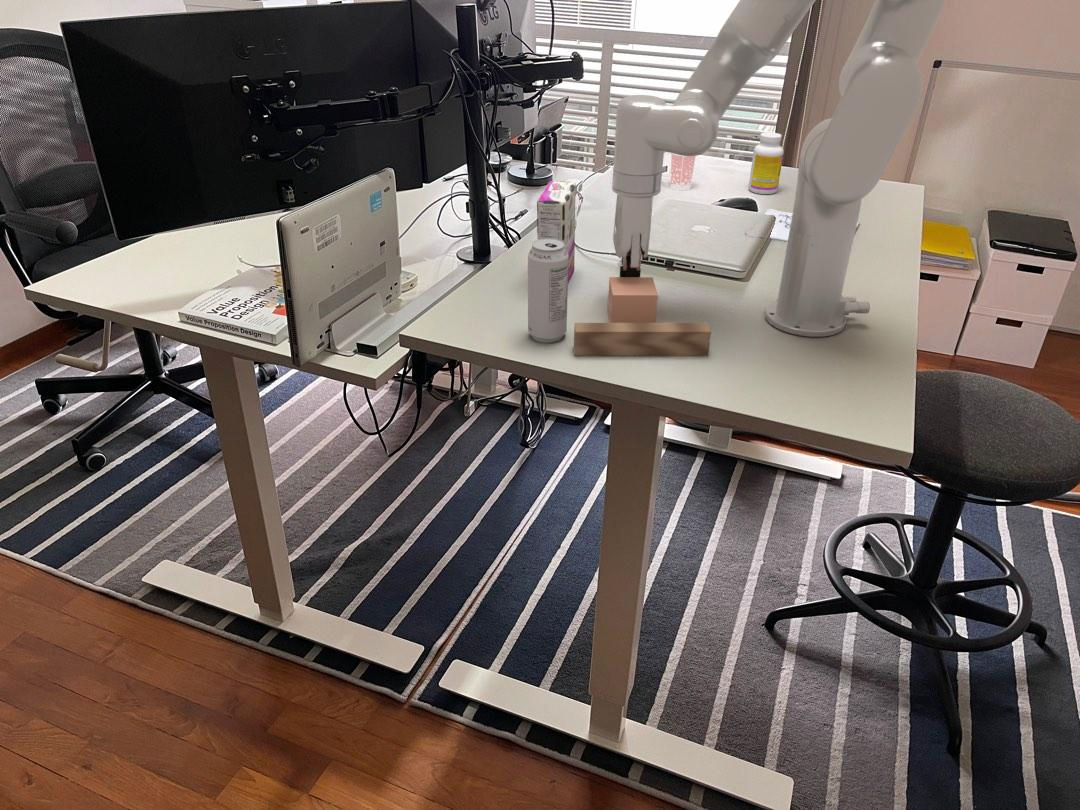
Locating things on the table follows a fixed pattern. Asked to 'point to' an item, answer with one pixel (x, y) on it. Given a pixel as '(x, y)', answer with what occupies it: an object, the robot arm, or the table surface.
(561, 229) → the candy bar box
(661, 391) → the table surface
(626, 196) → the robot arm
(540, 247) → the energy drink can
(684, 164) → the beverage cup
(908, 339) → the table surface
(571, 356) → the table surface
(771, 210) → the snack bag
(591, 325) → the walnut plank
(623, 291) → the terracotta block
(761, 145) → the supplement bottle
